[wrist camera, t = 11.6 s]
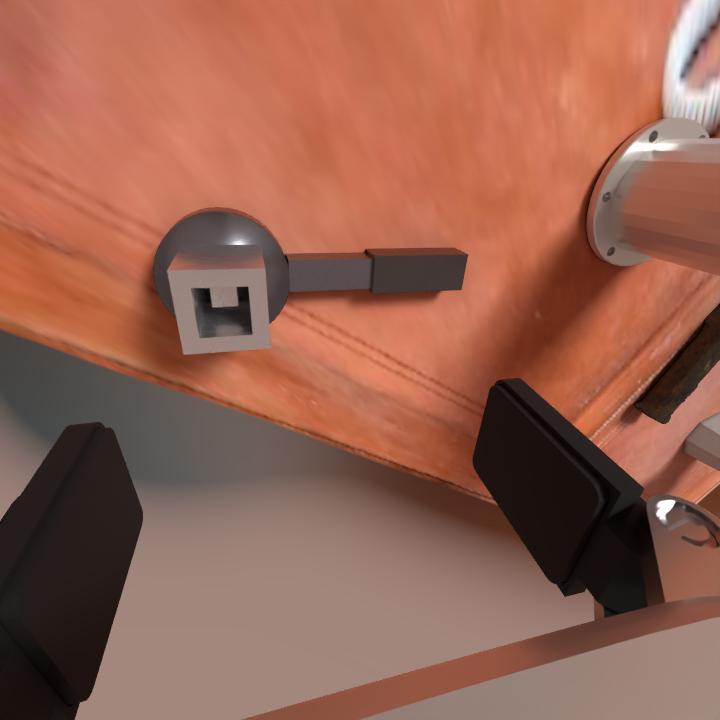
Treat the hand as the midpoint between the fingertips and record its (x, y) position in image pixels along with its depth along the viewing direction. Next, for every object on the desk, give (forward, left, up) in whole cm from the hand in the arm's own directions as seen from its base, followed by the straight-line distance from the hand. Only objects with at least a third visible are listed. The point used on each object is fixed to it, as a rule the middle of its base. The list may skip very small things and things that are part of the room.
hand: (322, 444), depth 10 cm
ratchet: (-4, +2, -23) cm, 23 cm away
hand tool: (-52, +14, -23) cm, 58 cm away
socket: (+3, +2, -20) cm, 20 cm away
